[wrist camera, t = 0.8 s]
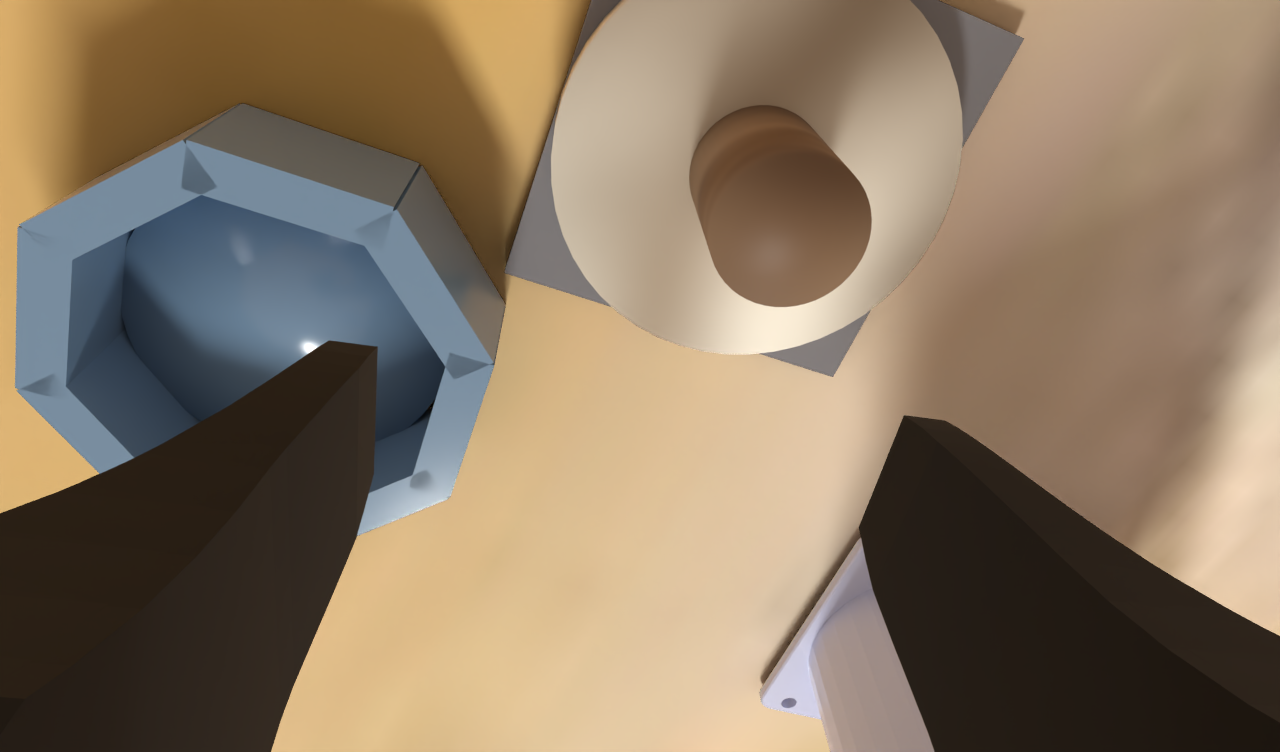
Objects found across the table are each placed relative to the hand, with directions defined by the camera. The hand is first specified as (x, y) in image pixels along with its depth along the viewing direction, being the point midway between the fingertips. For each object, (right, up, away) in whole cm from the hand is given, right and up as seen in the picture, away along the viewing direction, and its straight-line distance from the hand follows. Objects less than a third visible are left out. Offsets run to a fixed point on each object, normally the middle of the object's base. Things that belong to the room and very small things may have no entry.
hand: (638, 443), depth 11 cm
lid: (+3, +6, +8) cm, 10 cm away
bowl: (-9, +2, +10) cm, 13 cm away
